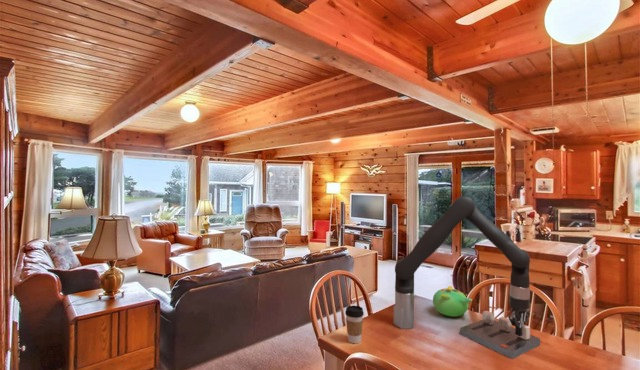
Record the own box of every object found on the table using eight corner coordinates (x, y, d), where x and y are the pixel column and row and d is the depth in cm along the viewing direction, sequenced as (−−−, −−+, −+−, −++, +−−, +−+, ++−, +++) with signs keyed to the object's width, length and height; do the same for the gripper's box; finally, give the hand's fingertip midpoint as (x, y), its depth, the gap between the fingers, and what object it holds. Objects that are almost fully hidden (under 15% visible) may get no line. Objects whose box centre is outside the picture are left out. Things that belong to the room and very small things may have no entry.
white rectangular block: (526, 339, 136) (526, 328, 136) (516, 335, 140) (516, 324, 140) (530, 338, 138) (530, 326, 138) (520, 334, 141) (520, 323, 141)
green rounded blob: (462, 309, 176) (462, 283, 176) (474, 323, 160) (474, 294, 159) (429, 308, 178) (429, 282, 178) (437, 321, 161) (437, 293, 161)
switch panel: (511, 359, 127) (512, 338, 127) (459, 334, 148) (460, 316, 148) (540, 345, 138) (540, 326, 138) (488, 323, 159) (488, 307, 159)
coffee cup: (341, 340, 142) (341, 308, 142) (352, 334, 148) (352, 302, 148) (356, 347, 136) (356, 313, 136) (367, 340, 143) (367, 307, 142)
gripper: (519, 290, 143) (518, 328, 143) (502, 295, 136) (501, 334, 137) (536, 296, 136) (536, 335, 136) (520, 301, 130) (519, 342, 130)
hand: (518, 335), depth 136 cm, fingers closed
